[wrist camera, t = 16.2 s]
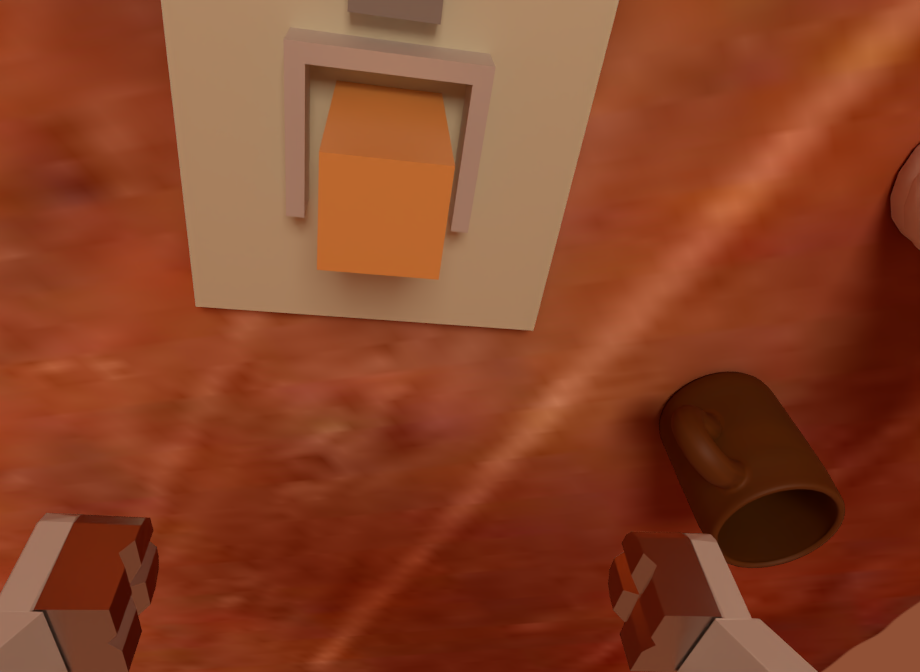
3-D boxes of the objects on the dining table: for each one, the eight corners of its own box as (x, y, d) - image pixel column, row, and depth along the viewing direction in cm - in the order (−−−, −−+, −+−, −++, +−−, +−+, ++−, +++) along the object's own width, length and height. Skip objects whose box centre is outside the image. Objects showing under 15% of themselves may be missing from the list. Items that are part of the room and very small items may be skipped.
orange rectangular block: (336, 80, 28) (318, 151, 21) (441, 93, 28) (455, 166, 22) (333, 179, 30) (316, 269, 24) (430, 189, 31) (438, 279, 25)
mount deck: (150, -179, 23) (120, -182, 21) (633, -96, 26) (659, -88, 23) (201, 293, 35) (185, 329, 32) (529, 318, 38) (539, 352, 35)
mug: (592, 380, 41) (636, 501, 33) (696, 306, 38) (769, 420, 31) (693, 466, 47) (750, 586, 39) (790, 407, 44) (872, 524, 36)
